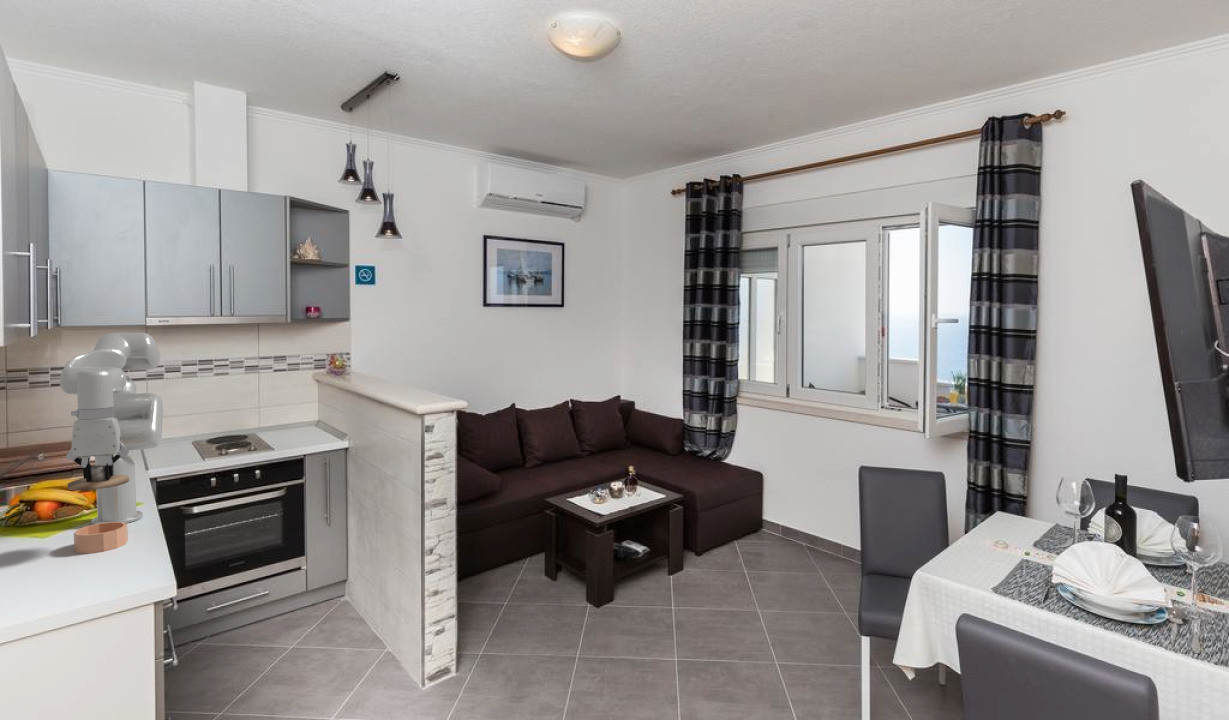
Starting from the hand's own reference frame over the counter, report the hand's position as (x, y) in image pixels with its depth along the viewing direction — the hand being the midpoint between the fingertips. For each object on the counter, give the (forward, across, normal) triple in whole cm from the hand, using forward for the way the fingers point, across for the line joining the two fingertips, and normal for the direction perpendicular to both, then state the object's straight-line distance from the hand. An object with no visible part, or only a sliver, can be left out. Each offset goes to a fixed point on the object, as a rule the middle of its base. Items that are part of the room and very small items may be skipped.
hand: (98, 479), depth 167 cm
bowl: (+19, 0, 0) cm, 19 cm away
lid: (+1, 0, 0) cm, 1 cm away
